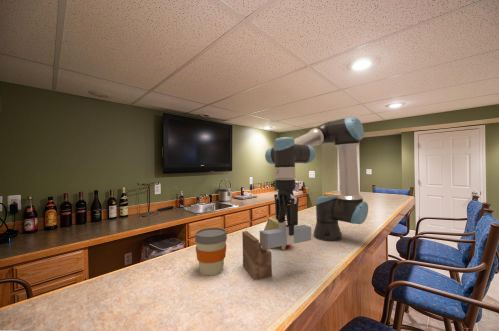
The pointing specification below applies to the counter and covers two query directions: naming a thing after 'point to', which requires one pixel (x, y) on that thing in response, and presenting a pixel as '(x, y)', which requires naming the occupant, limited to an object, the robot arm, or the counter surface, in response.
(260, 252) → the wooden bracket with knobs
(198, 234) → the reusable coffee cup
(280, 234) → the rail
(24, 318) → the counter surface
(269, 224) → the mechanical component
